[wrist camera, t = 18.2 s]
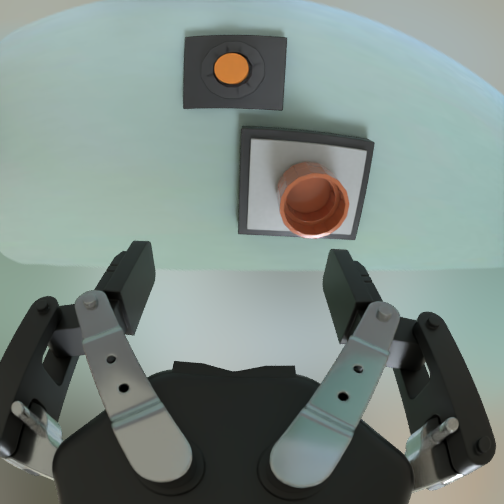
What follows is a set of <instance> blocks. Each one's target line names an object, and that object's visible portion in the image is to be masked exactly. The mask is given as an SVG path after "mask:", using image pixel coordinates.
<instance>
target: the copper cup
mask: <svg viewBox="0 0 504 504" xmlns="http://www.w3.org/2000/svg"><path fill="white" fill-rule="evenodd" d="M277 201H278V206H279V211H280V215H281V217H282V220H283V223H284V224H285V226H286V227H287V228H288V229H289V230H290V231H291V232H292V233H294V234H296V235H299V236H301V237H303V238H315V239H317V238H320V237H324V236H327V235H330V234H331V233H333V232H334V231H335V230H337V229H338V228H339V227H340V226H341V225H342V223H343V222H344V220H345V219H346V217H347V214H348V209H349V199H348V194H347V191H346V189H345V188H344V187H343V185H342V184H341V183H340V181H339V180H338V179H337V178H336V177H335V176H334V174H333V173H332V172H331V171H330V170H329V169H328V168H326V167H325V166H323V165H321V164H319V163H315V162H302V163H299V164H295V165H293V166H291V167H290V168H289V169H288V170H287V171H285V172H284V174H283V175H282V176H281V178H280V180H279V182H278V184H277Z"/></svg>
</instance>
